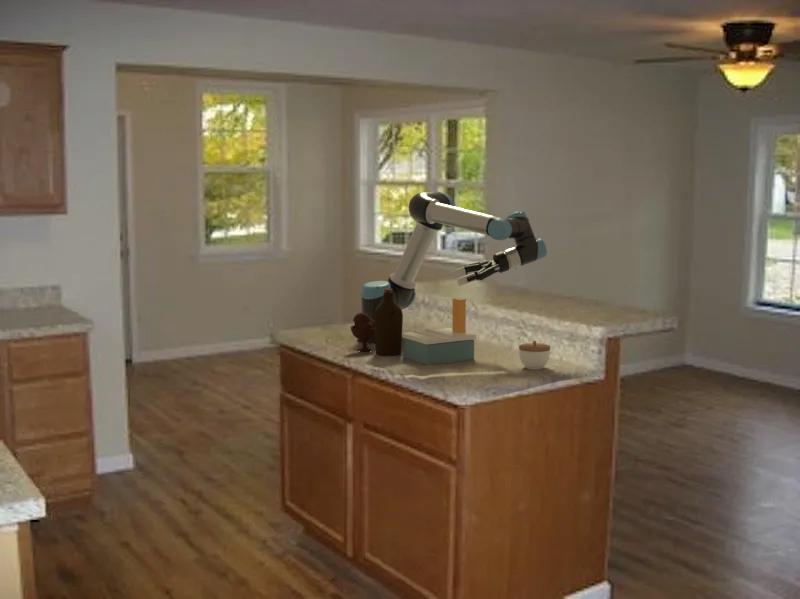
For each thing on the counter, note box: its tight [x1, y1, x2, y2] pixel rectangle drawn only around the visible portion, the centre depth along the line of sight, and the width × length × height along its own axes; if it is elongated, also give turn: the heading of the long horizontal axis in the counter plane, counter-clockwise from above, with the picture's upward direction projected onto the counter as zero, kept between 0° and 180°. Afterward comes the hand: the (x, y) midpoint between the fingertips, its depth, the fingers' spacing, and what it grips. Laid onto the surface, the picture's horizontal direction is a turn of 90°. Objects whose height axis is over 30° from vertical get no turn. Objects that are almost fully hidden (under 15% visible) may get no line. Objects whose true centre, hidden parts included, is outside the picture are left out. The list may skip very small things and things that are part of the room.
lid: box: [402, 297, 476, 345], centre depth 321 cm, size 17×21×14 cm
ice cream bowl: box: [350, 312, 375, 353], centre depth 341 cm, size 11×11×15 cm
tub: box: [402, 338, 475, 366], centre depth 323 cm, size 16×20×8 cm
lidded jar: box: [518, 340, 551, 371], centre depth 310 cm, size 11×11×9 cm
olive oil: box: [374, 289, 404, 357], centre depth 330 cm, size 11×11×25 cm
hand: (453, 279), depth 332 cm, fingers open, 13 cm apart
